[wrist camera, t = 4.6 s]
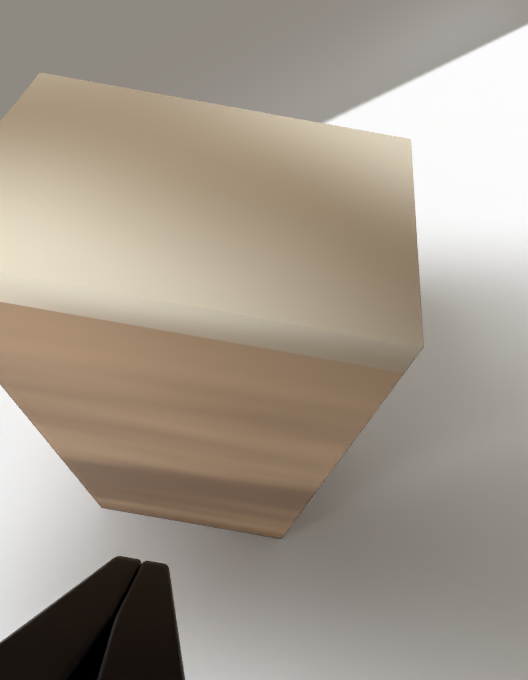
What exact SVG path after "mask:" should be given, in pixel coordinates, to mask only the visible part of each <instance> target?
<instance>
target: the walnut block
mask: <svg viewBox="0 0 528 680" xmlns="http://www.w3.org/2000/svg"><path fill="white" fill-rule="evenodd" d="M422 348H423V331H422V315H421V298H420V282H419V265H418V249H417V233H416V216H415V200H414V183H413V167H412V151H411V139H406V138H401V137H395V136H390V135H384V134H379V133H373V132H367V131H362V130H356V129H351V128H345V127H340V126H334V125H329V124H323V123H318V122H312V121H306V120H301V119H295V118H290V117H284V116H278V115H272V114H268V113H262V112H256V111H251V110H245V109H240V108H234V107H229V106H223V105H217V104H212V103H206V102H201V101H195V100H190V99H184V98H178V97H173V96H168V95H162V94H156V93H151V92H145V91H139V90H134V89H128V88H123V87H118V86H111V85H106V84H101V83H95V82H90V81H84V80H79V79H73V78H68V77H62V76H56V75H51V74H45V73H39V75H38V76H37V77H36V78H35V80H34V81H33V82H32V83H31V85H30V86H29V87H28V88H27V89H26V91H25V92H24V93H23V94H22V95H21V97H20V98H19V99H18V100H17V102H16V103H15V104H14V105H13V107H12V108H11V109H10V110H9V112H8V113H7V114H6V115H5V116H4V118H3V119H2V120H1V121H0V385H1V386H2V387H3V388H4V389H5V391H6V392H7V393H8V394H9V396H10V397H11V398H12V399H13V400H14V402H15V403H16V404H17V405H18V407H19V408H20V409H21V410H22V411H23V413H24V414H25V415H26V416H27V417H28V419H29V420H30V421H31V422H32V424H33V425H34V426H35V427H36V428H37V430H38V431H39V432H40V433H41V434H42V436H43V437H44V438H45V439H46V441H47V442H48V443H49V444H50V445H51V447H52V448H53V449H54V450H55V452H56V453H57V454H58V455H59V456H60V458H61V459H62V460H63V461H64V462H65V464H66V465H67V466H68V467H69V469H70V470H71V471H72V472H73V473H74V475H75V476H76V477H77V478H78V480H79V481H80V482H81V483H82V484H83V486H84V487H85V488H86V489H87V490H88V492H89V493H90V494H91V495H92V497H93V498H94V499H95V500H96V501H97V503H98V504H99V505H100V506H101V507H102V508H105V509H111V510H117V511H123V512H129V513H134V514H140V515H146V516H152V517H158V518H163V519H169V520H175V521H181V522H186V523H192V524H198V525H204V526H210V527H215V528H221V529H227V530H233V531H238V532H244V533H250V534H256V535H262V536H267V537H273V538H279V539H281V538H282V537H283V536H284V534H285V533H286V532H287V530H288V529H289V528H290V526H291V525H292V523H293V522H294V521H295V519H296V518H297V517H298V515H299V514H300V513H301V511H302V510H303V509H304V507H305V506H306V505H307V503H308V502H309V501H310V499H311V498H312V497H313V495H314V494H315V493H316V491H317V490H318V488H319V487H320V486H321V484H322V483H323V482H324V480H325V479H326V478H327V476H328V475H329V474H330V472H331V471H332V470H333V468H334V467H335V466H336V464H337V463H338V462H339V460H340V459H341V458H342V456H343V455H344V453H345V452H346V451H347V449H348V448H349V447H350V445H351V444H352V443H353V441H354V440H355V439H356V437H357V436H358V435H359V433H360V432H361V431H362V429H363V428H364V427H365V425H366V424H367V423H368V421H369V420H370V418H371V417H372V416H373V414H374V413H375V412H376V410H377V409H378V408H379V406H380V405H381V404H382V402H383V401H384V400H385V398H386V397H387V396H388V394H389V393H390V392H391V390H392V389H393V387H394V386H395V385H396V383H397V382H398V381H399V379H400V378H401V377H402V375H403V374H404V373H405V371H406V370H407V369H408V367H409V366H410V365H411V363H412V362H413V361H414V359H415V358H416V357H417V355H418V354H419V352H420V351H421V350H422Z"/></svg>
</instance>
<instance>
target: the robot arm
mask: <svg viewBox="0 0 528 680" xmlns="http://www.w3.org/2000/svg"><path fill="white" fill-rule="evenodd" d="M0 680H185V676H184V669H183V662H182V655H181V648H180V641H179V634H178V627H177V620H176V614H175V607H174V600H173V593H172V586H171V579H170V572H169V567H168V566H167V565H166V564H163V563H157V562H151V561H145V562H143V563H141V561H140V560H139V559H134V558H128V557H122V556H118V557H115V558H113V559H112V560H111V561H109V562H108V563H107V564H105V565H104V566H102V567H101V568H100V569H98V570H97V571H96V572H94V573H93V574H92V575H90V576H89V577H88V578H86V579H85V580H84V581H82V582H81V583H80V584H78V585H77V586H75V587H74V588H73V589H71V590H70V591H69V592H67V593H66V594H65V595H63V596H62V597H61V598H59V599H58V600H57V601H55V602H54V603H53V604H51V605H50V606H49V607H47V608H46V609H44V610H43V611H42V612H40V613H39V614H38V615H36V616H35V617H34V618H32V619H31V620H30V621H28V622H27V623H26V624H24V625H23V626H22V627H20V628H19V629H18V630H16V631H15V632H13V633H12V634H11V635H9V636H8V637H7V638H5V639H4V640H3V641H1V642H0Z"/></svg>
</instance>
